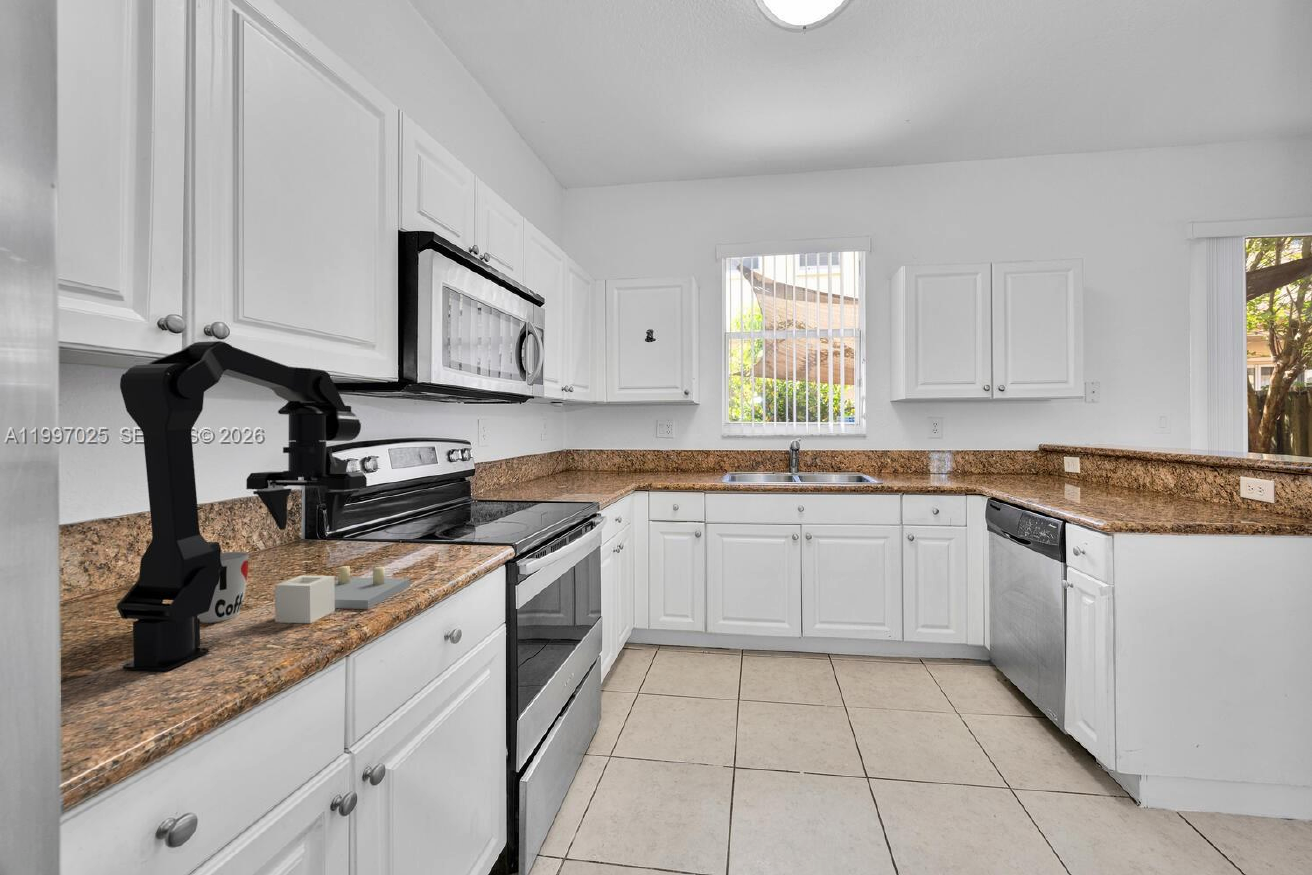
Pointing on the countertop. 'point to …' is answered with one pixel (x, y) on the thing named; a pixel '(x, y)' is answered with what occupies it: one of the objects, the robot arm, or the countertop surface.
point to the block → (304, 599)
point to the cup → (228, 588)
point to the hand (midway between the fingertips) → (307, 529)
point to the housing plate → (365, 588)
